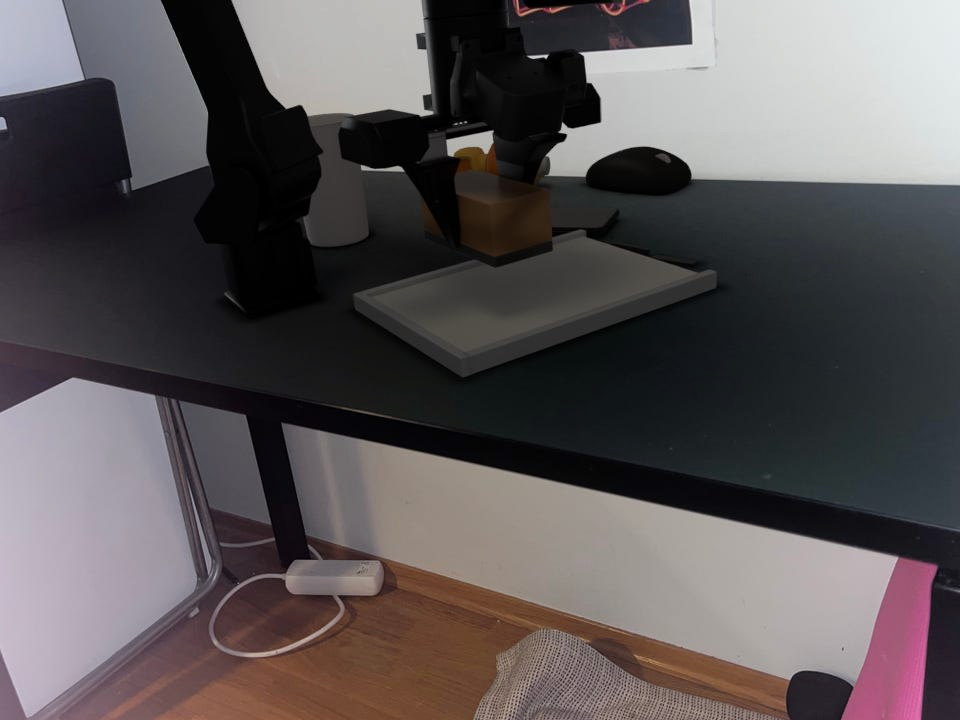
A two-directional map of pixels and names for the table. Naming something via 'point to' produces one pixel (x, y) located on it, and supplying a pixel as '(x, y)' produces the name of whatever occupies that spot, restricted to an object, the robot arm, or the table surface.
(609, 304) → the grey tray
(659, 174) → the computer mouse
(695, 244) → the table surface
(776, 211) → the table surface
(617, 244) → the mark
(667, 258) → the mark
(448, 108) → the robot arm
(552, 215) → the smartphone
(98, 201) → the table surface
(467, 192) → the eraser
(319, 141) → the mug
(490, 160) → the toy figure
